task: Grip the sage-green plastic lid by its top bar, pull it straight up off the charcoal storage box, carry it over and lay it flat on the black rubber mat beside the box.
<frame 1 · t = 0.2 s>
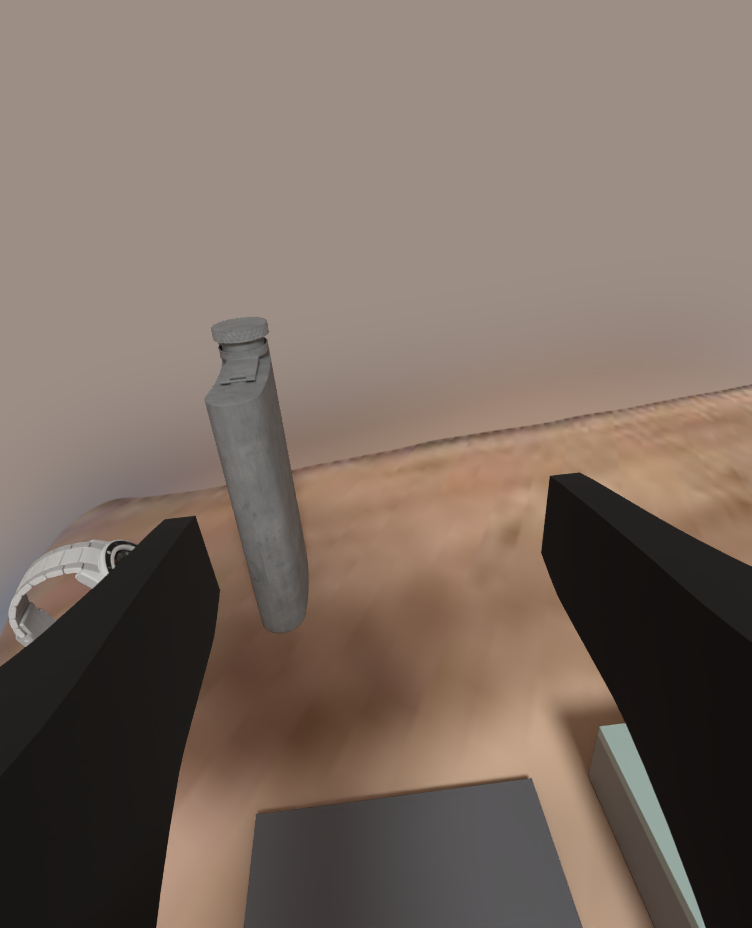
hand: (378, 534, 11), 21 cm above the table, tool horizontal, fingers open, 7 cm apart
hip flask: (285, 561, 43), on the table
watch: (135, 688, 33), on the table
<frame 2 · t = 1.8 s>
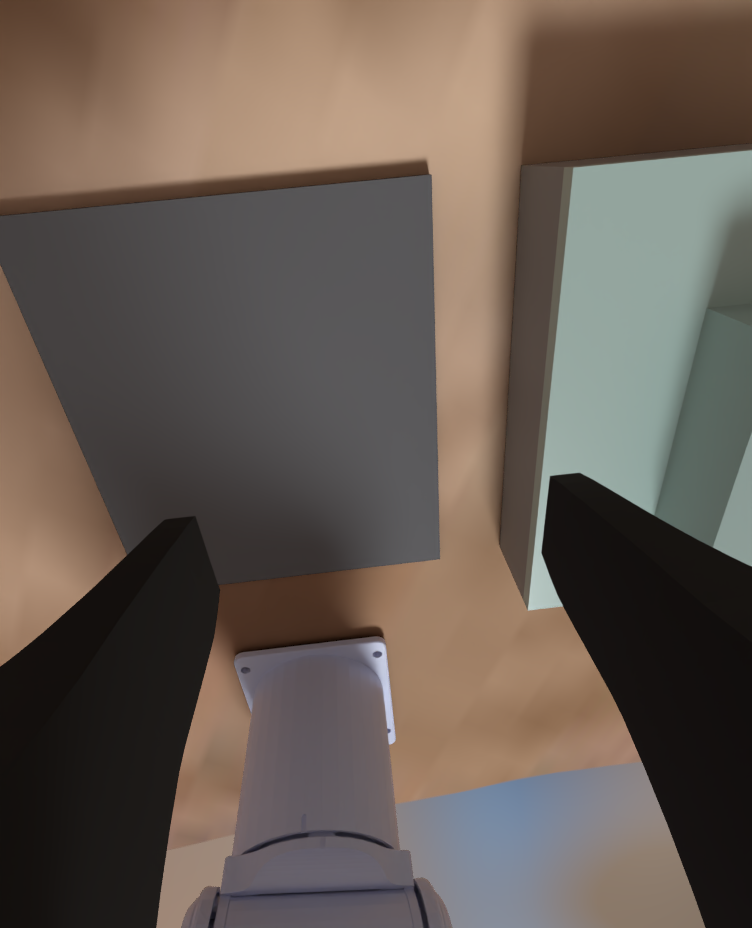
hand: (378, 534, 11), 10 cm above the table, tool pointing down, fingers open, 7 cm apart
lid: (698, 408, 18), point 3 cm above the table, touching storage box
mat: (260, 420, 20), on the table
storage box: (654, 378, 21), on the table
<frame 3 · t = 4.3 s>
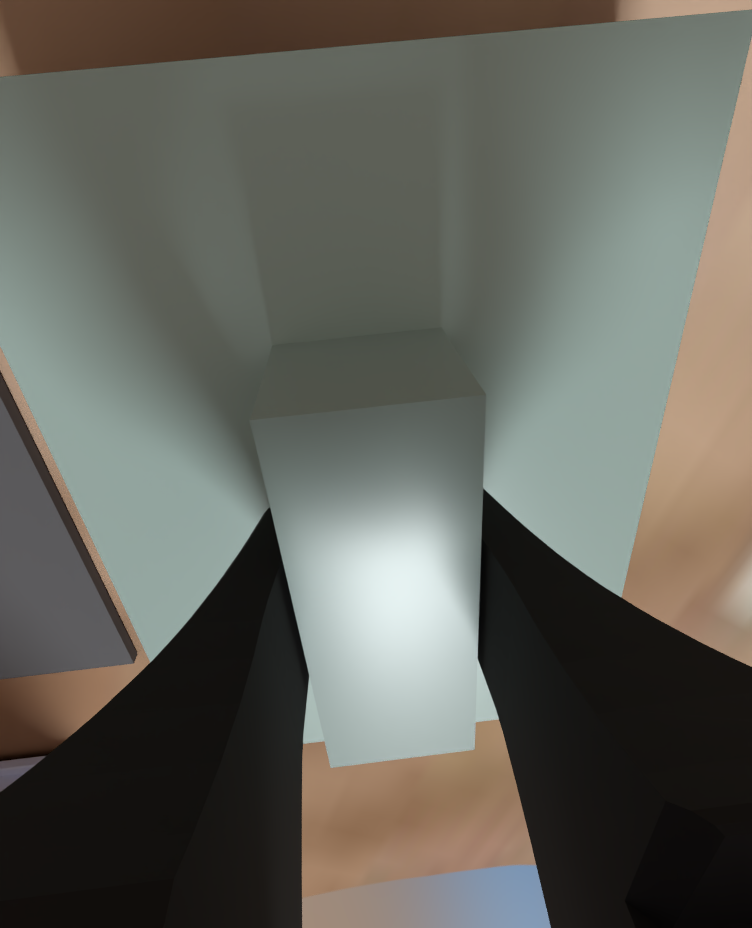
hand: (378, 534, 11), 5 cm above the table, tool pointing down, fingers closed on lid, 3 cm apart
lid: (371, 486, 12), point 3 cm above the table, touching gripper, storage box
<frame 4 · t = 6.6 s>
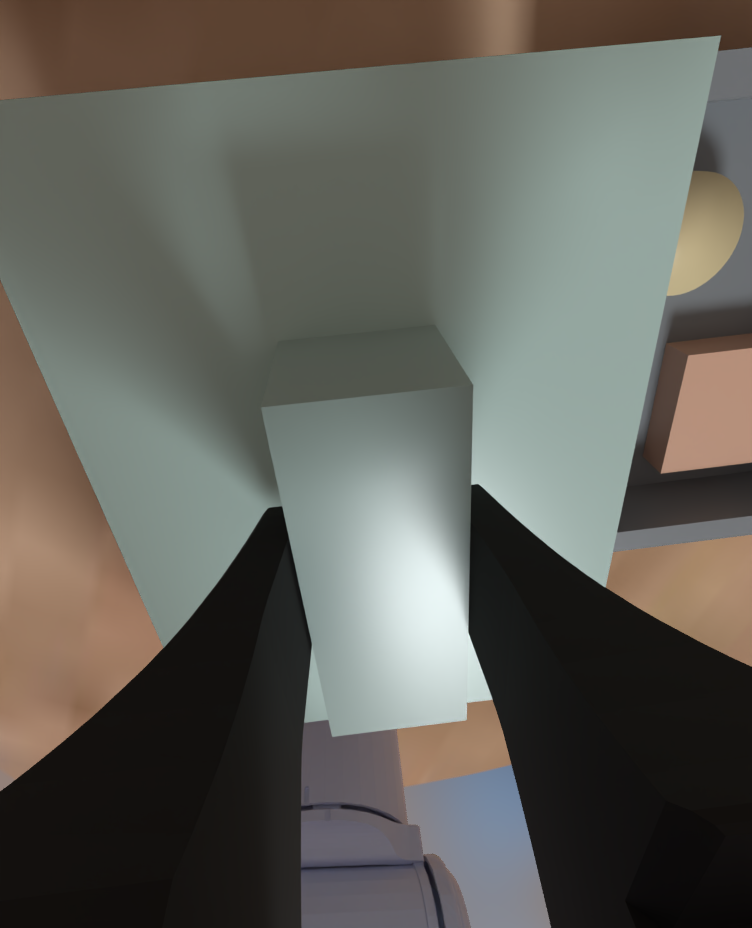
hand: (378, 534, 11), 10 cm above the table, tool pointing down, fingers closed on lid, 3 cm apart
lid: (370, 475, 13), point 8 cm above the table, touching gripper
storage box: (672, 324, 20), on the table
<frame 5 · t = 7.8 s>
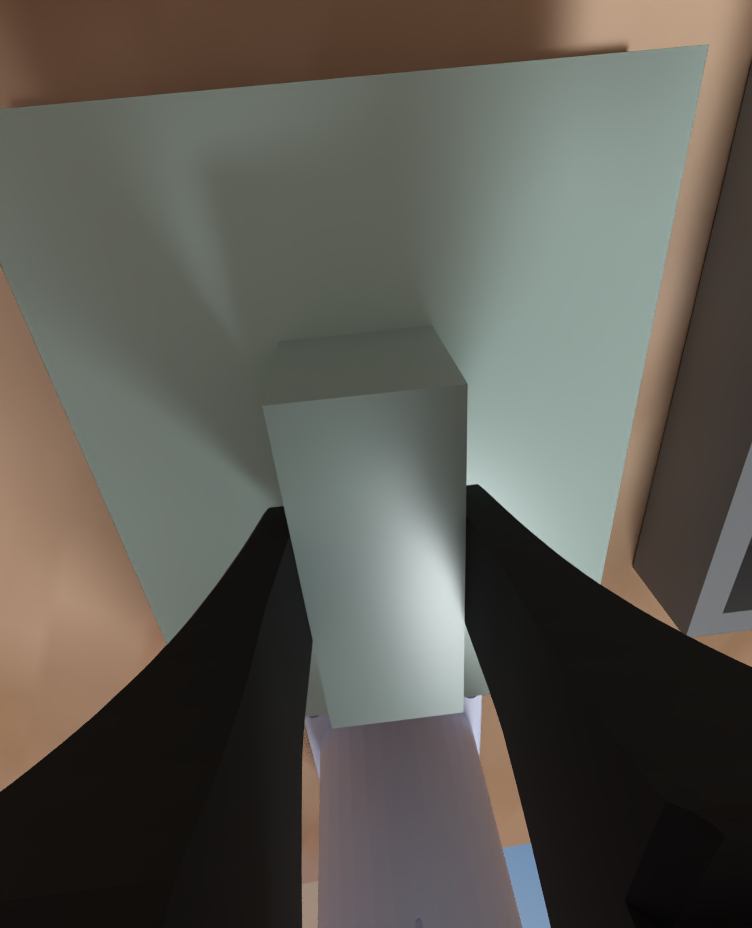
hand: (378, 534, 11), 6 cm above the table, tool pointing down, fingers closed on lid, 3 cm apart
lid: (369, 473, 13), point 3 cm above the table, touching gripper
when the fingers open (4 cm above the table, at t = 9.0 s): lid stays where it is, resting on mat.
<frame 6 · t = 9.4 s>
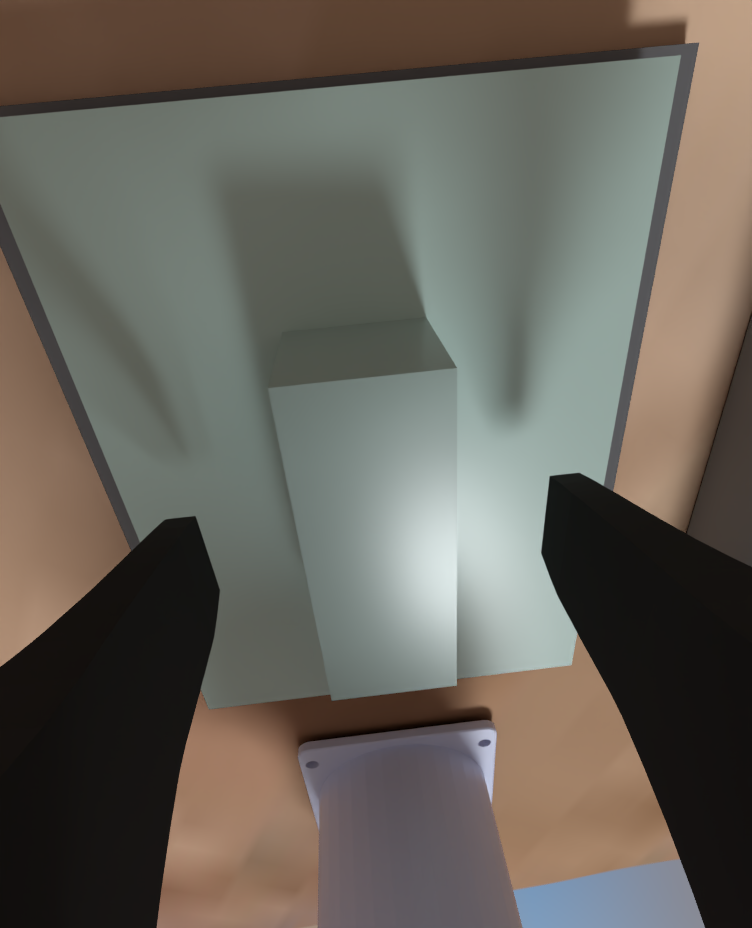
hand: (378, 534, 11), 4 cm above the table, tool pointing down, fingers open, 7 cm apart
lid: (367, 460, 14), resting on mat
mat: (366, 444, 14), on the table
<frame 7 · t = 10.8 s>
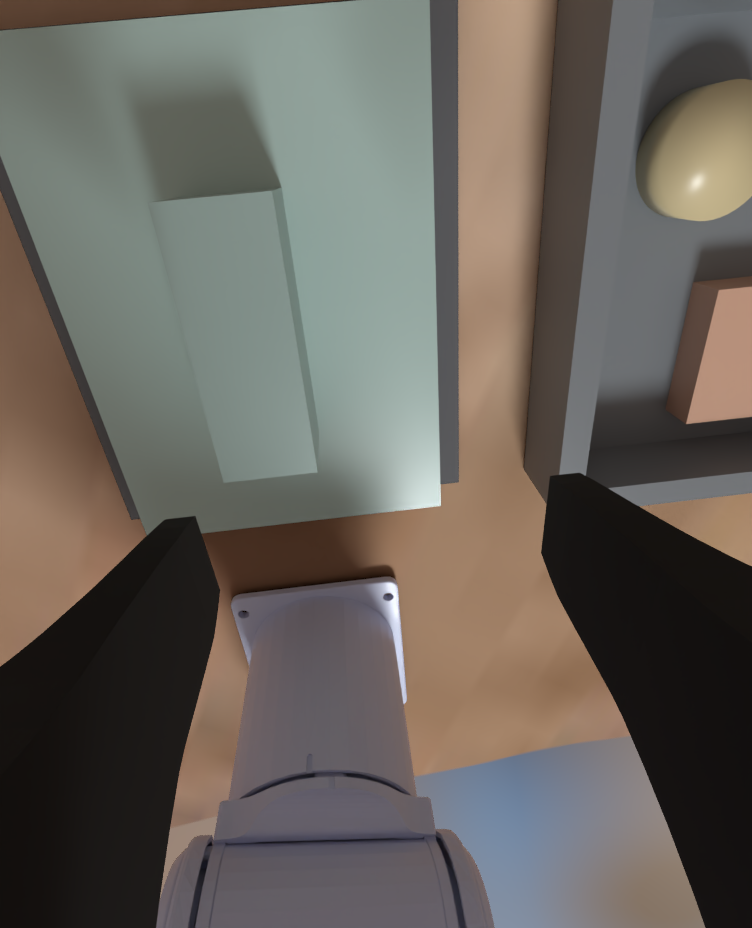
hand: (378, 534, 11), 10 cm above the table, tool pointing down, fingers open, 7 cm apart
lid: (261, 319, 18), resting on mat
mat: (261, 308, 18), on the table
storage box: (699, 263, 19), on the table
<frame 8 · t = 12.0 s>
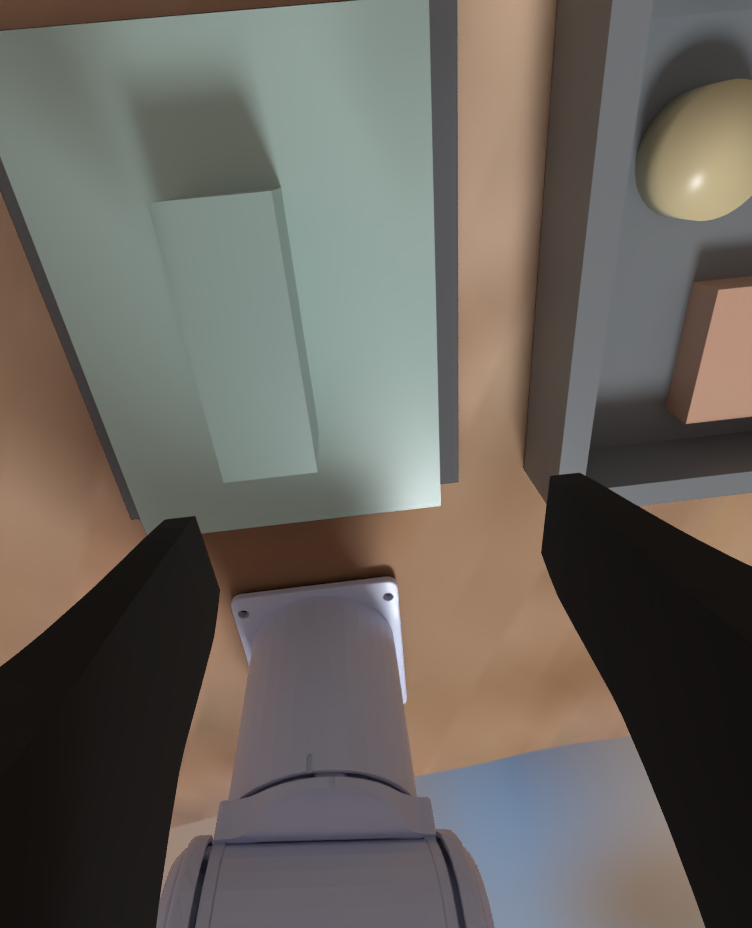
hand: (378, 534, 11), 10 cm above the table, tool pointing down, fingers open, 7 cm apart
lid: (261, 319, 18), resting on mat
mat: (261, 308, 18), on the table
storage box: (699, 263, 19), on the table
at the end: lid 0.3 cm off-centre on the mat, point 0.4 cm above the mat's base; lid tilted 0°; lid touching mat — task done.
